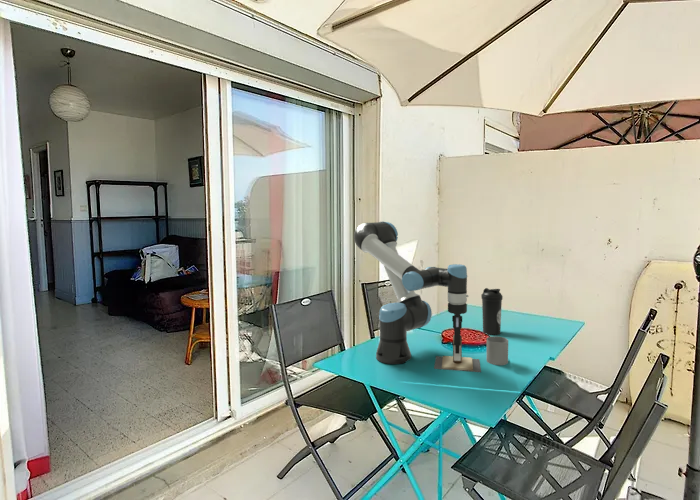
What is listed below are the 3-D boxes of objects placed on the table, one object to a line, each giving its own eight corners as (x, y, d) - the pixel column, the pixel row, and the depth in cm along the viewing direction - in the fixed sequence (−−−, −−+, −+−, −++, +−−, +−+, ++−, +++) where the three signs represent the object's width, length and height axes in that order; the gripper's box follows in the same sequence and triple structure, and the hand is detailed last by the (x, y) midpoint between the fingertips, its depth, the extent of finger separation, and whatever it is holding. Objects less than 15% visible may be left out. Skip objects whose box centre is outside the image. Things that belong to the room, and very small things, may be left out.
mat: (434, 370, 160) (434, 368, 160) (435, 357, 173) (435, 356, 173) (481, 373, 155) (481, 372, 155) (479, 360, 168) (479, 359, 168)
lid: (441, 368, 160) (441, 339, 159) (442, 357, 171) (442, 330, 170) (473, 370, 157) (473, 341, 155) (472, 359, 168) (472, 332, 167)
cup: (509, 367, 161) (509, 343, 160) (488, 366, 162) (488, 342, 161) (505, 359, 169) (506, 336, 168) (485, 358, 171) (485, 335, 170)
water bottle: (499, 336, 199) (500, 291, 196) (479, 334, 204) (479, 289, 202) (503, 331, 207) (504, 288, 205) (483, 328, 213) (484, 286, 210)
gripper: (467, 307, 153) (467, 366, 155) (466, 298, 168) (466, 352, 171) (447, 307, 155) (447, 365, 157) (448, 298, 170) (448, 351, 173)
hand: (457, 358), depth 164 cm, fingers closed on lid, 3 cm apart
